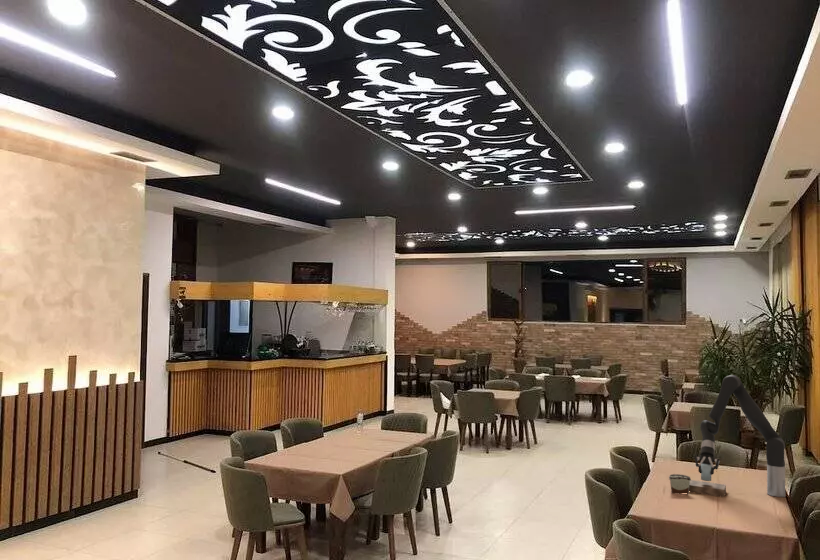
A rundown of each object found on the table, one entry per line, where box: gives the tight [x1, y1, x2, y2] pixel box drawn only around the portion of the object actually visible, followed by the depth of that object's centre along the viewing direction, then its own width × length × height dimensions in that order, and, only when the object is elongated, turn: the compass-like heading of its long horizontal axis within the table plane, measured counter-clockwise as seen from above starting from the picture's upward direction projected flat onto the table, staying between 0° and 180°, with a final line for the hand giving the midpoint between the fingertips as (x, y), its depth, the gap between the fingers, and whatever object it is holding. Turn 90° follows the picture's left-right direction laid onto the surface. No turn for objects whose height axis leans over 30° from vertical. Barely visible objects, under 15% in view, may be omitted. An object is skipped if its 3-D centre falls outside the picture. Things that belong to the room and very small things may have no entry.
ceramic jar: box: [700, 463, 712, 482], centre depth 380 cm, size 6×6×9 cm
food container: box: [668, 473, 692, 495], centre depth 376 cm, size 12×6×10 cm, turn 84°
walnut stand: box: [689, 479, 727, 498], centre depth 380 cm, size 20×14×4 cm
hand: (706, 473), depth 379 cm, fingers closed on ceramic jar, 5 cm apart
